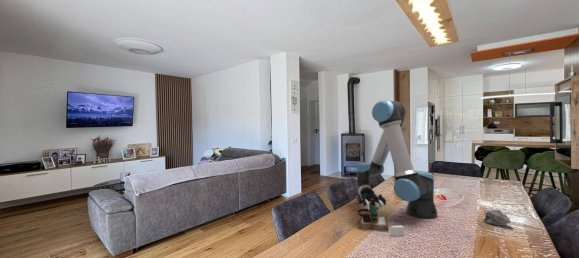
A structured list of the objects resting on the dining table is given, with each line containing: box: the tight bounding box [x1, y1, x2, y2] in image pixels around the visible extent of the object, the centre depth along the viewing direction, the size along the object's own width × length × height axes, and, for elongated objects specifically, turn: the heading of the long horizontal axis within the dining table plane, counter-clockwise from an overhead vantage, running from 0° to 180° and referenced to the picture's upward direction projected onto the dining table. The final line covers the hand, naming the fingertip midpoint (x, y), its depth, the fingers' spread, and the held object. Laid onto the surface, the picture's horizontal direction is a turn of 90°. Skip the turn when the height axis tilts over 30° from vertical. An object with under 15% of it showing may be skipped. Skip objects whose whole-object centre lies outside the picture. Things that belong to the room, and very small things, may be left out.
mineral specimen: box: [483, 208, 512, 226], centre depth 123 cm, size 10×8×10 cm
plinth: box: [359, 215, 389, 232], centre depth 124 cm, size 13×12×3 cm
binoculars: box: [357, 197, 380, 223], centre depth 124 cm, size 9×11×10 cm
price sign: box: [390, 225, 405, 237], centre depth 113 cm, size 5×2×4 cm, turn 93°
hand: (375, 206), depth 119 cm, fingers open, 6 cm apart
